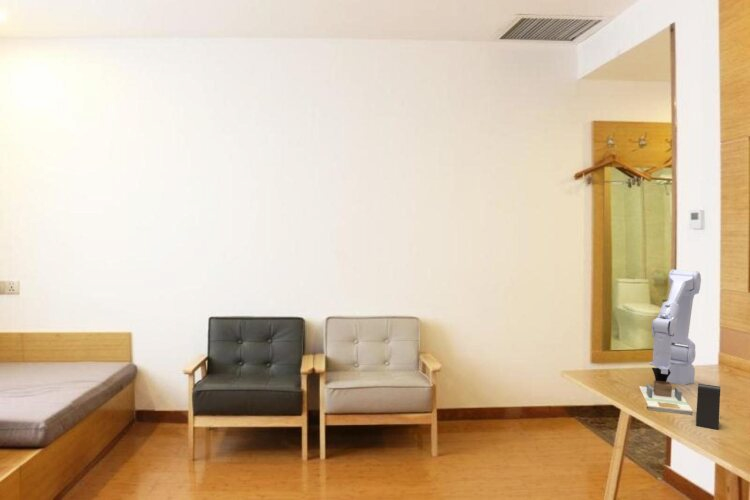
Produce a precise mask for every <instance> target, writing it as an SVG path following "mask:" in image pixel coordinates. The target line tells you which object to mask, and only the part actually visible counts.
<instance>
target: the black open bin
mask: <svg viewBox="0 0 750 500" xmlns="http://www.w3.org/2000/svg"><path fill="white" fill-rule="evenodd" d="M696 399H697V400H696V413H695V414H696V416H695V426H696V427H701V428H707V429H711V430H712V429H713V430H719V428H720V409H721V408H720V406H721V404H720V403H721V386H719V385H718V386H717V385H711V384H703V383H698V384H697V397H696Z"/></svg>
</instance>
